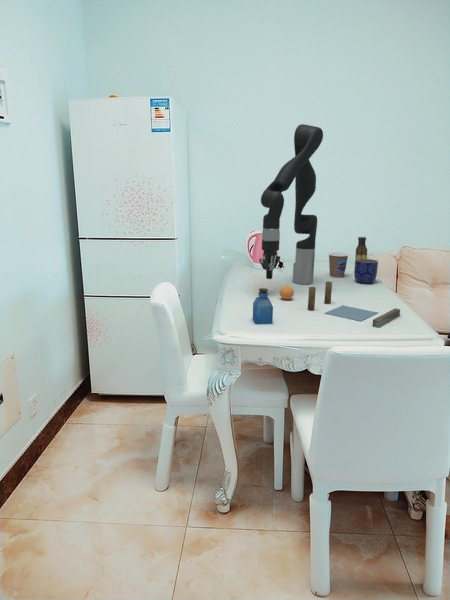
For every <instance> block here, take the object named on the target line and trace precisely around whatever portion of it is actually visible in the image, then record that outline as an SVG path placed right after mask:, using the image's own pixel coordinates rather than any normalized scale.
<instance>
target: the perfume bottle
mask: <svg viewBox="0 0 450 600" xmlns="http://www.w3.org/2000/svg"><path fill="white" fill-rule="evenodd" d="M258 290H259V291H258V296H256V298H255V299H254V301H253V302H252V303H253V304H252V321H253V322H254V325H273V319H274V317H273V316H274V315H273V312H274V307H273V304H272V302H271V300H270V298H269V297H268V296H269V292H268V291H269V290H268V288H264V287H263V288H258Z"/></svg>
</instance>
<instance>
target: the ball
mask: <svg viewBox="0 0 450 600" xmlns="http://www.w3.org/2000/svg"><path fill="white" fill-rule="evenodd" d="M294 294H295V291H294V289H293V287H292V286H290V285H283V286H282V287H281V288H280V289H279V295H280V297H281V298H282V299H283V300H285V301H287V300H291V298H293V297H294Z"/></svg>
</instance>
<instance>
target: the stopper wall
mask: <svg viewBox="0 0 450 600" xmlns="http://www.w3.org/2000/svg"><path fill="white" fill-rule="evenodd" d="M400 315H401V309H400V308H393V309H391V310H389V311H387V312H384V314H382V315H379V316H378V317H375V318H373V319H372V327H373V328H377V329H378V328H380V327H381V326H384V325H385V324H387V323H389V322H390V321H393V320H394V319H396V318H398V317H400Z"/></svg>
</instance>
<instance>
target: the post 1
mask: <svg viewBox="0 0 450 600" xmlns="http://www.w3.org/2000/svg"><path fill="white" fill-rule="evenodd" d="M316 290H317V288H316V287H315V286H309V287H308V299H307V311H315V306H316V305H315V304H316Z"/></svg>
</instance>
